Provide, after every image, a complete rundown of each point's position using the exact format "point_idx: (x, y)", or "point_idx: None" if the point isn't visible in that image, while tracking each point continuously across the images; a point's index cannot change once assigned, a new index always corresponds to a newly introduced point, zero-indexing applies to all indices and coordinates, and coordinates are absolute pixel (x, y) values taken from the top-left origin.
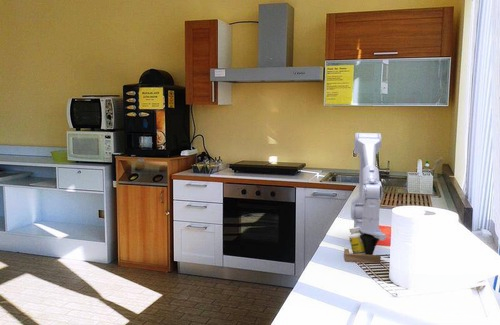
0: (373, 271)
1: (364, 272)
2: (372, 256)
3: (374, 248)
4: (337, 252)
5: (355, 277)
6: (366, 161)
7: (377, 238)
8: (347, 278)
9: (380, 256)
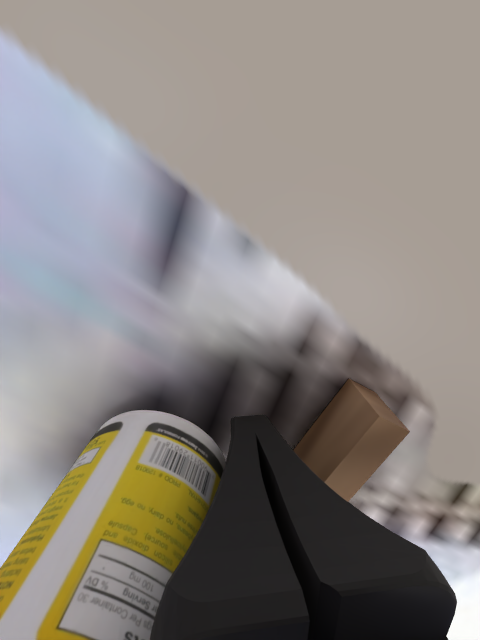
0: (458, 503)
1: (440, 547)
2: (359, 481)
3: (297, 457)
4: (3, 544)
5: (464, 602)
6: None
7: (439, 615)
8: (451, 629)
9: (407, 433)
